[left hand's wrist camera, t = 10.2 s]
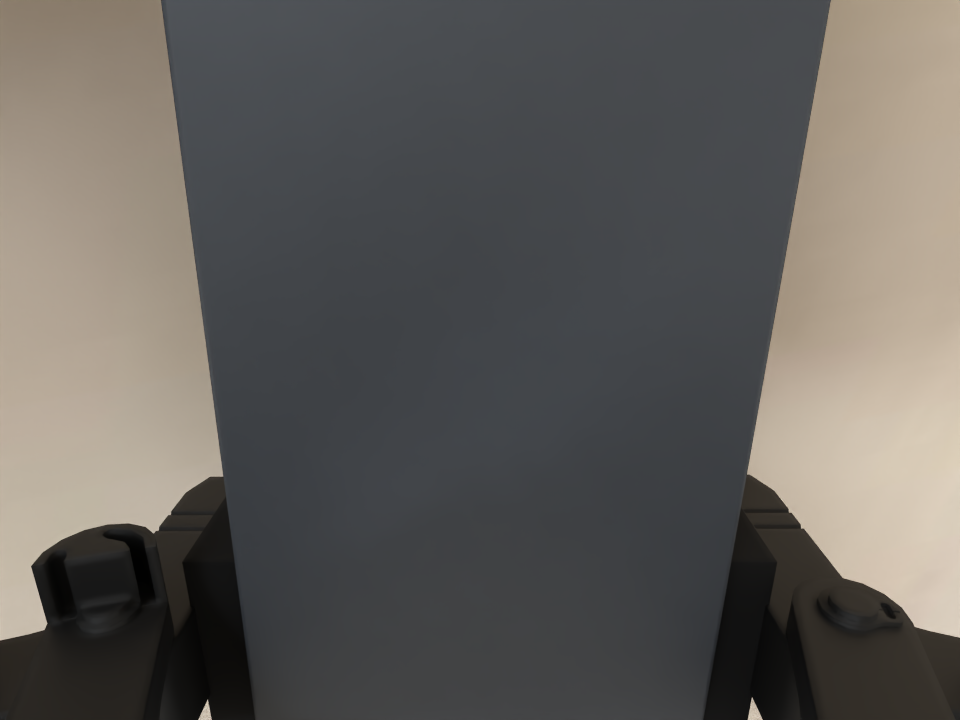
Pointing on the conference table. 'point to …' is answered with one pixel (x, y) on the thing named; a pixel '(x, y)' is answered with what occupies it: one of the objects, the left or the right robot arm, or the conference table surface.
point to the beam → (488, 336)
